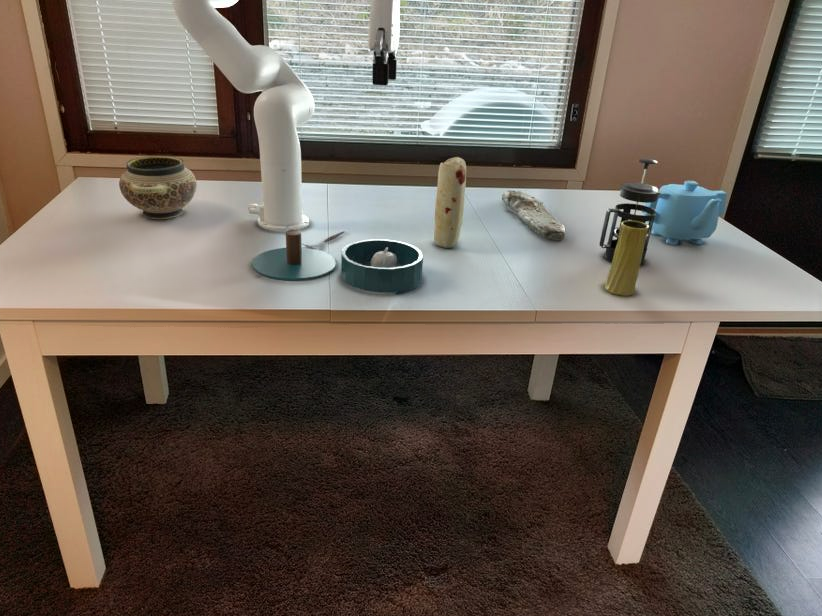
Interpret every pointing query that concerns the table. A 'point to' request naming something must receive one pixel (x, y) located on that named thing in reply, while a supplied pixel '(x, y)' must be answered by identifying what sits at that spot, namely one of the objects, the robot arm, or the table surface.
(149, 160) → the ceramic bowl
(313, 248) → the fork
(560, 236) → the elongated rock
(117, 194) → the table surface
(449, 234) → the food model
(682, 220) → the teapot
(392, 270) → the pot
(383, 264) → the garlic
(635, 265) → the vase
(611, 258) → the french press
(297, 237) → the lid
